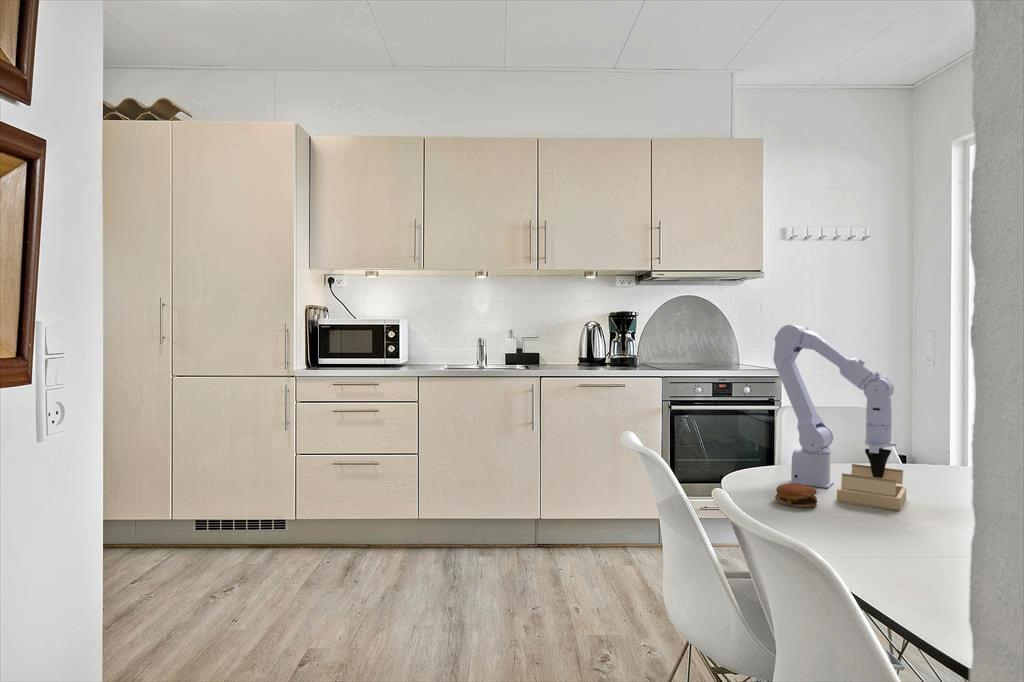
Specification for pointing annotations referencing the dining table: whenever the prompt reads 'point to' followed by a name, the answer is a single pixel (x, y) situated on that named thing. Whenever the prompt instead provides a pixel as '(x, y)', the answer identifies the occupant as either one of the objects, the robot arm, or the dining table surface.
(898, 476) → the flap
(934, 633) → the dining table surface
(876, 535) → the dining table surface
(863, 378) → the robot arm
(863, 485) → the flap
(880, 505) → the carton
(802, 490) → the burger
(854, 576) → the dining table surface
